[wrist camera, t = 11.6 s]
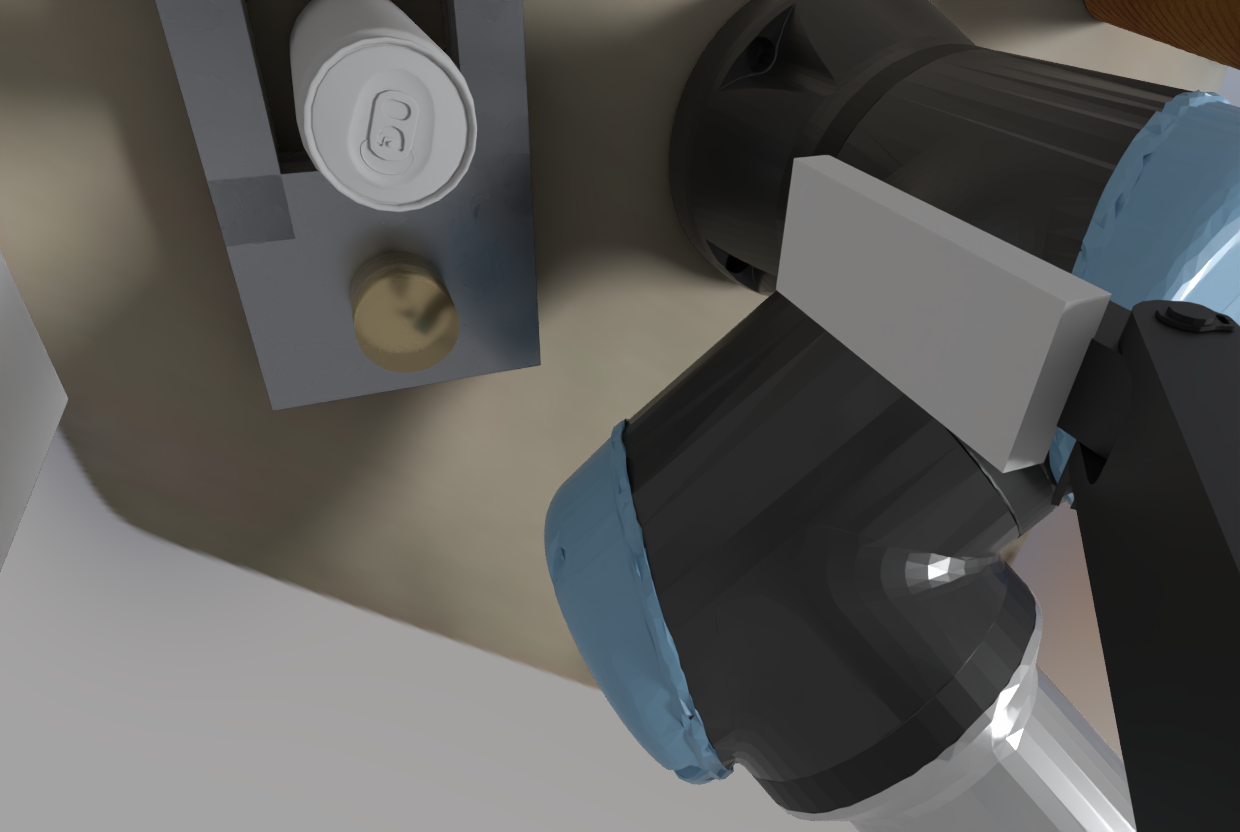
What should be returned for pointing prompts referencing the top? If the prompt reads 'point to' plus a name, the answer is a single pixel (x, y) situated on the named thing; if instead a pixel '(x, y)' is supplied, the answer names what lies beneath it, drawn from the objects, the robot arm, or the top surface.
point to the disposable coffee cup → (1179, 24)
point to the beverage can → (379, 104)
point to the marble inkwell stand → (367, 222)
